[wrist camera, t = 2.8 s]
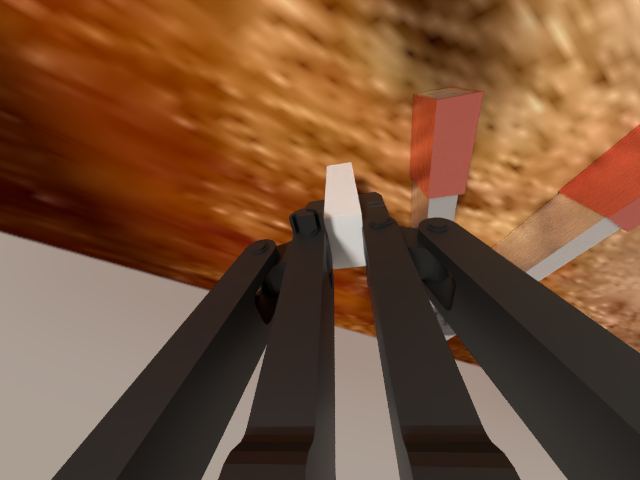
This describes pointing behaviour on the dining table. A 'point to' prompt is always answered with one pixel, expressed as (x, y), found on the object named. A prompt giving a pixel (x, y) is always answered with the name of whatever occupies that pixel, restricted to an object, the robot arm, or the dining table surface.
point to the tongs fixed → (577, 215)
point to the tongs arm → (441, 150)
